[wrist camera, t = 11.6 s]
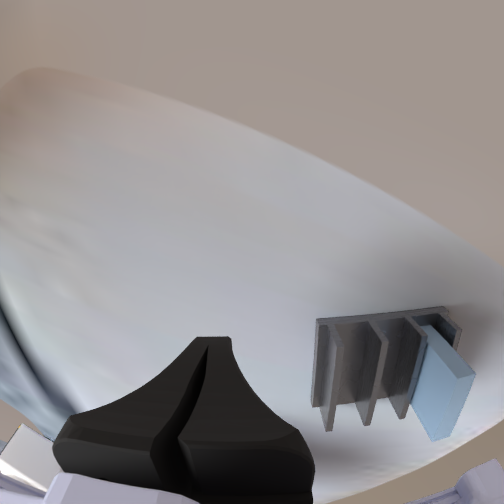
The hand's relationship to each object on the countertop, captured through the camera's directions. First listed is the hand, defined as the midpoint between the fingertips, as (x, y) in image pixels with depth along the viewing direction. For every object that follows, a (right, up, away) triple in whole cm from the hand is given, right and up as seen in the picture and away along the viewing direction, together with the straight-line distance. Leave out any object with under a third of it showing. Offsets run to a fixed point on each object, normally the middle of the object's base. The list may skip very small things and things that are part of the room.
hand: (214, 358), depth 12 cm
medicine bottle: (-25, -21, +17) cm, 37 cm away
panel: (+15, -5, +11) cm, 19 cm away
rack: (+12, -4, +12) cm, 17 cm away
